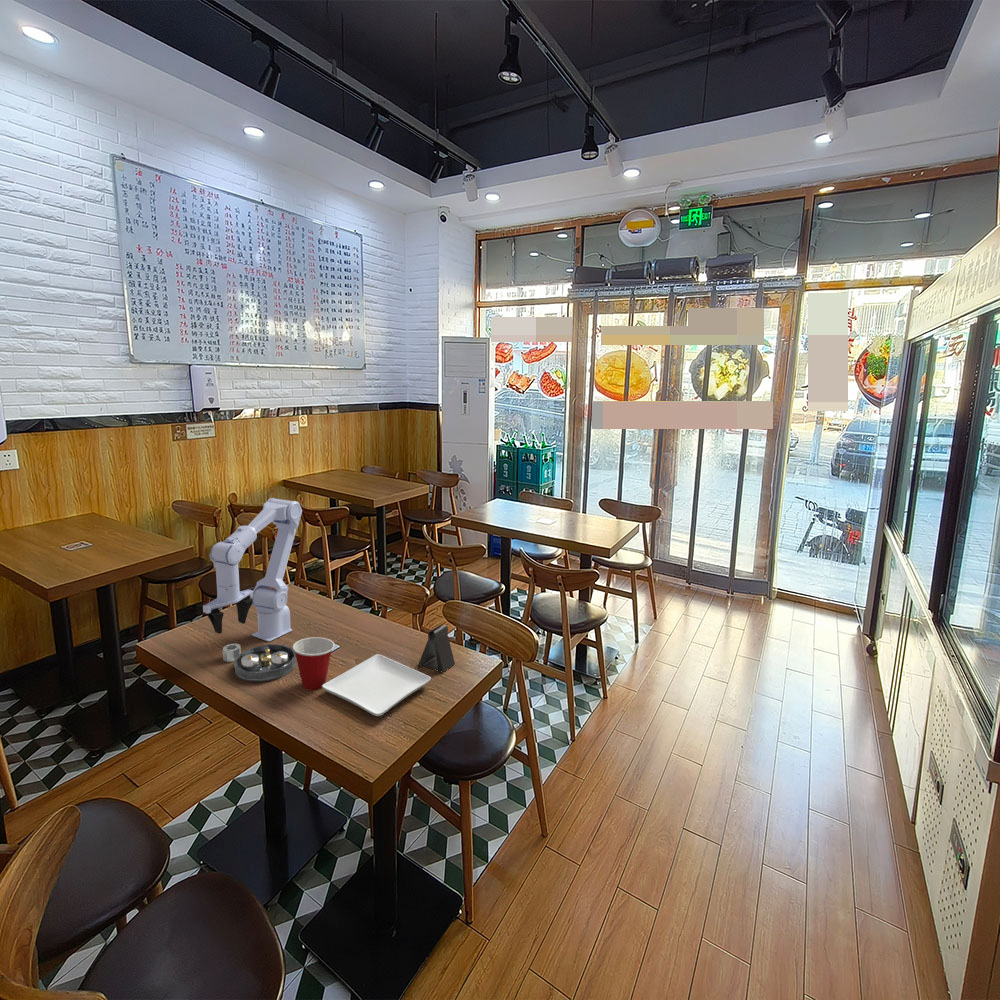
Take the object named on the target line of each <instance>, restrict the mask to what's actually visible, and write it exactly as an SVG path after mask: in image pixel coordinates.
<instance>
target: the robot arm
mask: <svg viewBox="0 0 1000 1000" xmlns="http://www.w3.org/2000/svg"><path fill="white" fill-rule="evenodd" d="M302 513H303V509H302V507H301V505H300V503H299V501H298V500H297V501H296V500H288V499H287V500H286V499H278V498H275V497H270V498H269V499H268V500H267V501H266V502H265V503H263V506H262V509H261V510H260V512H259V513H258V514H257V515H256V516H255V517H254V518H253V519H252V520H251V521H250V523H248V525H240V526H238V527H237V528H236V530H235V531H234V532H232V534H230V535H229V536H228V537H227V538H226V539H224V540H223V541H219V542H217V543H216V544H214V545H213V546H212V547H211V550H210V553H209V558H210V561H212V562H213V568H215V575H216V593H217V595H216V598H214V599H213V600H210V602H208V603H207V604H203V605H202V611H203V613H204V614H205V616H207V617H208V619H209V622H211V625H212V627H213V630H214V632H215V633H217V634H218V635H221V634H222V633H223V618H224V615H225V613H224V612H222V611H221V608H224V607H227V606H230V605H234V604H235V606H236V610H237V611H236V612H237V620H238V623H240V624H242V625H243V624H246V621H247V618H248V613H249V611H250V608H251V606H252V605H253V606H254V609H255V610H256V612H257V615H256V616H257V617H256V618H257V631H256V632H254V633H252V634H251V636H253V637H255V638H257V639H261V640H263V641H265V642H268V643H269V642H271V641H273V640H276V639H278V638H279V637H282V636H284V635H286V634H288V633H290V632H293V629H292V628H291V611H290V608H289V606H288V605H287V603H288V591H289V587H288V585H287V584H286V583H285V581H283V580H284V576H285V573H286V569H287V565H288V561H289V558H290V554H291V551H292V547H293V543H294V540H295V536H296V533H297V529H298V528H299V524H300V521H301V517H302ZM271 523H273V525H275V526H276V527H277V529H278V530H277V534H276V536H275V537H276V538H275V541H274V544H273V548H272V551H271V555H270V559H269V562H268V566H267V569H266V572H265V576H264V577H263V578H261V579H260V580H258V581H256V584H255V587H254V589H253V590H251V589H249V588H248V589H246V590H245V589H244V590H242V591H241V590H240V589H241V588H240V573H239V570H240V568H239V563H240V562H241V561H242V559H243V555H244V554H245V552H246V550H247V548H249V547H250V546H251V545H252V544H253V543H254V542H256V540H257V538H258V536H257V534H258V533H260V532H261V531H262V530H263V529H265V528H266V527H267V526H268V525H270V524H271Z"/></svg>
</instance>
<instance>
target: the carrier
mask: <svg viewBox="0 0 1000 1000" xmlns="http://www.w3.org/2000/svg"><path fill="white" fill-rule="evenodd" d="M233 666H234V671H235V673H234V674H235V676H236V677H237V678H238V679H240V680H242V681H244V682H250V683H265V682H270V681H275V680H277V679H281V678H283V677H285V676H286V675H289V674H290V673H291V672H292V671H293V670H294V669H295V667H296V666H297V659H296V655H295V651H294V650H293V647H290V646H288V645H285V644H280V643H279V644H278V643H277V644H274V643H269V644H264V645H263V644H262V645H258V646H253V647H251V648H249V649H247V650H245V651H243V652H241V653H240V655H239V656H238V657H237V658H236V659H235V660H234V662H233Z"/></svg>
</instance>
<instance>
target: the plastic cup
mask: <svg viewBox="0 0 1000 1000" xmlns="http://www.w3.org/2000/svg"><path fill="white" fill-rule="evenodd" d="M335 647H336V645H335V642H334V641H333V640H332V639H328V638H327V637H319V636H316V637H314V636H312V637H306V638H302V639H300V640H298V641H297V640H296V641H295V642H294V644H292V648H293V650H294V651H295V655H296V659H297V661H296V664H297V666H298V667H297V668H298V672H299V676H300V680H301V684H302V687H303V689H305V690H308V691H317V690H319V689H322V688H323V687H322V685H323V684H325V683H326V681H327V674H328V671H329V665H330V661H331V660H330V659H331V656H332V653H333V651H334V648H335Z"/></svg>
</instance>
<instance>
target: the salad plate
mask: <svg viewBox="0 0 1000 1000" xmlns="http://www.w3.org/2000/svg"><path fill="white" fill-rule="evenodd" d="M431 680H432V677H431V676H430V675H427V674H425V673H424V672H420V671H418V670H417V669H414V668H412V667H409V666H407V665H404V664H403V663H401V662H398V661H397V660H394V659H391V658H389V657H387V656H384V655H382V654H377V653H376V654H374V655H372V656H371V657H369V658H367V659H365V660H364V661H362V662H361V663H359V664H356V666H353V667H351V668H350V669H348V670H346V671H345V672H343V673H341V674H339V675H338V676H336V677H333V678H332V679H330V680H328V681H327V682H325V684H323V685H322V687H321V688H322V689H323V690H325V691H326V693H329V694H331V695H334V696H335V697H338V698H341V699H342V700H345V701H347V702H348V703H350V704H352V705H354V706H357V707H358V708H361V709H362V710H364V711H366V712H367V713H369V714H370V715H372V716H375V717H380V716H382V715H384V714H385V713H387V712H388V711H390V709H392V708H393V707H395V706H397V705H398V704H400V703H401V702H402V701H403V700H404V699H406V698H408V697H409V696H410V695H412V694H414V693H415V692H417V691H418V690H420V689H421V688H423V687H424V686H426V685H427V684H428V683H429V682H430V681H431Z"/></svg>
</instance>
